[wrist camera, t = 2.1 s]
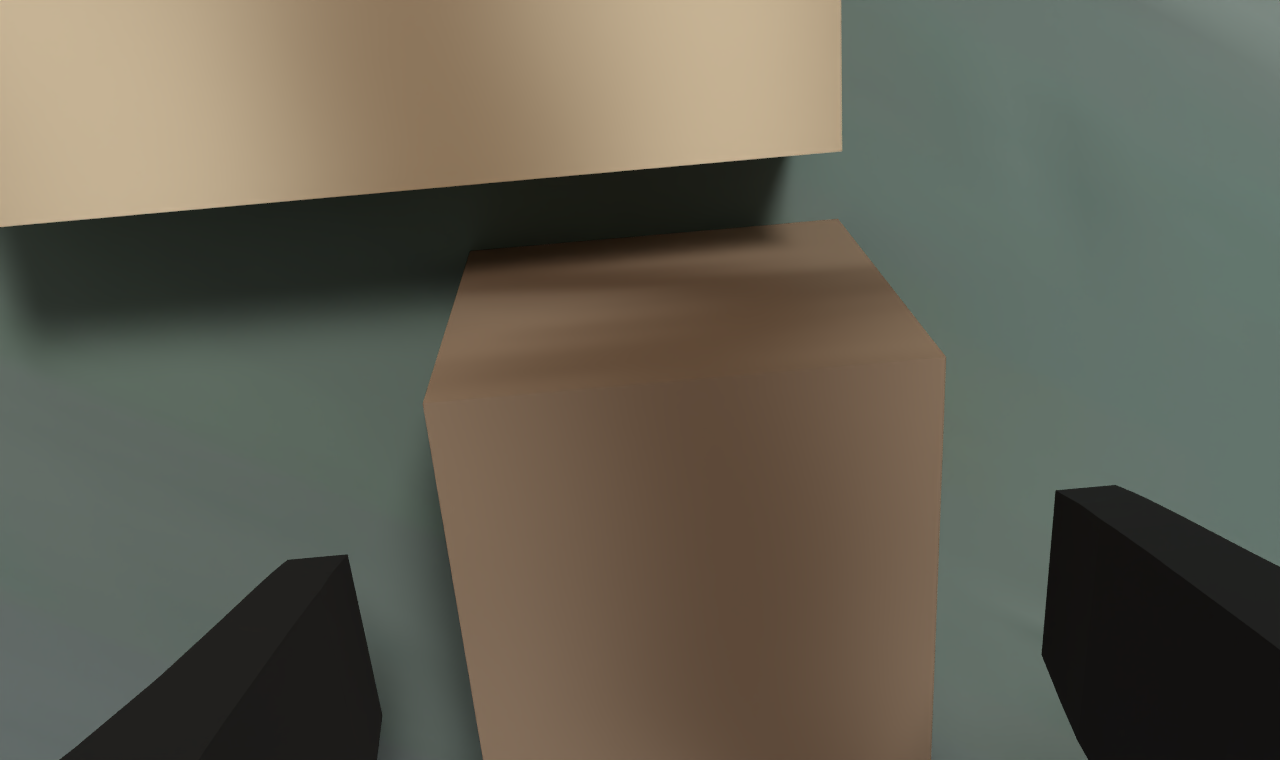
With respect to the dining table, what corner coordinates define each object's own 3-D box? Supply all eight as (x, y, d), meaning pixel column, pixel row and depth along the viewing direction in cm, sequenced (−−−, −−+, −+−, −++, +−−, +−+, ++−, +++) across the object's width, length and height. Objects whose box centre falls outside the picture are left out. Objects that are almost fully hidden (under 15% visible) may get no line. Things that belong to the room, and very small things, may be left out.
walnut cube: (515, 561, 17) (491, 804, 13) (470, 248, 15) (422, 403, 11) (838, 532, 17) (931, 763, 13) (836, 217, 15) (945, 356, 11)
